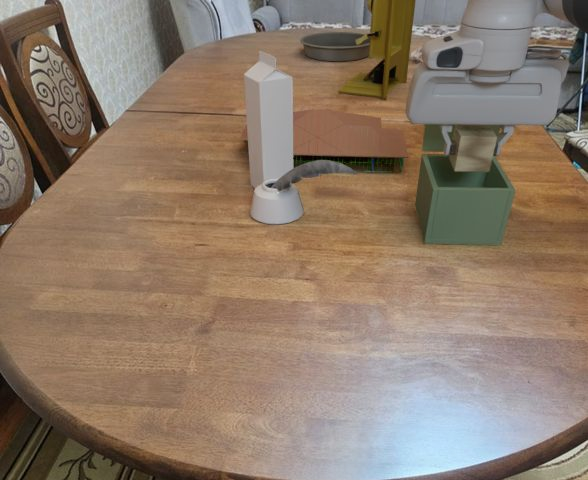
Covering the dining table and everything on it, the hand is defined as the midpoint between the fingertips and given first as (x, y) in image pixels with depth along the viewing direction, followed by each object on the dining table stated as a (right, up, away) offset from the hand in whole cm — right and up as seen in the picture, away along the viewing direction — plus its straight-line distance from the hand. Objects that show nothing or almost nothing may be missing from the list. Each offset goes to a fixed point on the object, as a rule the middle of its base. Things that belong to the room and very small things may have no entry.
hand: (470, 154), depth 80 cm
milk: (-30, +1, +20) cm, 36 cm away
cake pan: (-12, +69, +101) cm, 123 cm away
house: (-20, +13, +34) cm, 41 cm away
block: (0, -1, +1) cm, 2 cm away
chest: (0, -8, +8) cm, 12 cm away
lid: (+1, +9, +4) cm, 10 cm away
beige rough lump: (+15, +62, +92) cm, 112 cm away
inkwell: (-25, -6, +11) cm, 28 cm away
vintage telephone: (-4, +43, +70) cm, 82 cm away
